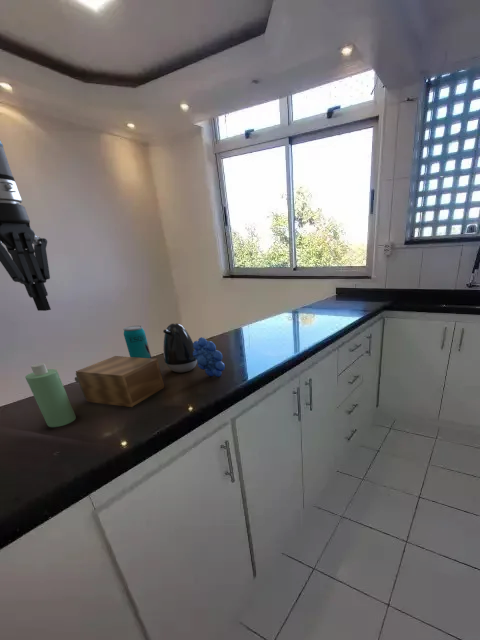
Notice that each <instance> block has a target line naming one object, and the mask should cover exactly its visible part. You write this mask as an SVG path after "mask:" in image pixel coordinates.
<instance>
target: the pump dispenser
mask: <svg viewBox="0 0 480 640" xmlns="http://www.w3.org/2000/svg"><path fill="white" fill-rule="evenodd" d="M162 333H163V334H164V336H163V344H162V346H163V349H162V350H163V359H164V363H165V364H166V365H167V367H168V368H169V369H170V371H172V372H175V373H178V374H179V373H181V374H182V373H188V372H190V371H192V370H194V368H196V366H197V365H198V362H197V359H195V358H194V356H193V351H194V350H195V349H194V347H193V343H194V341H193V339H192V337H191V335H190V333H189V332H188V331H187V329H186V328H185V327H184V326H183V325H182V324H180V323H178V322H173V323H170V324H168V325H167V326H166V329H163V332H162Z"/></svg>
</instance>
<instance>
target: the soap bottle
mask: <svg viewBox="0 0 480 640" xmlns="http://www.w3.org/2000/svg"><path fill="white" fill-rule="evenodd" d="M30 368H31V371H32V372H30V373H28V374H26V375H25V377H24V378H25V380H26V383H27V384H28V386H29V389H30V391H31V393H32V396H33V398H34V400H35V402H36V403H37V406H38V408H39V410H40V412H41V415H42V417H43V419H44V421H45V423H46V426H47V427H49V428H59V427H63V426H66V425H69V424H71V423H73V422H74V421H75V420H76V419H77V416H76V413H75V411H74V409H73V406H72V403H71V401H70V399H69V397H68V394H67V391H66V389H65V386H64V384H63V382H62V380H61V376H60V374H59V372H58V370H57V369H55V368H47V366H46V364H45V363H44V362H39V363H34V364H32V365H30Z"/></svg>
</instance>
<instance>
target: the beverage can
mask: <svg viewBox="0 0 480 640" xmlns="http://www.w3.org/2000/svg"><path fill="white" fill-rule="evenodd" d="M123 337H124V341H125V344H126V347H127V351H128V354H129V355H128V356H129V357H137V358H151V359H153V358H152V355H151V351H150V347H149V343H148V339H147V335H146V332H145V329H144V328H143V326H142V325H130V326H126V327H125V326H124V327H123Z"/></svg>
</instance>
